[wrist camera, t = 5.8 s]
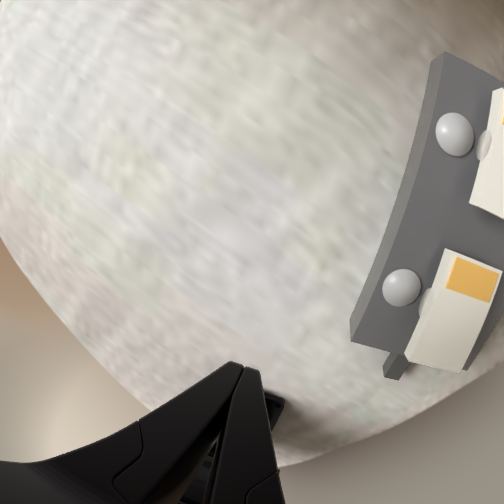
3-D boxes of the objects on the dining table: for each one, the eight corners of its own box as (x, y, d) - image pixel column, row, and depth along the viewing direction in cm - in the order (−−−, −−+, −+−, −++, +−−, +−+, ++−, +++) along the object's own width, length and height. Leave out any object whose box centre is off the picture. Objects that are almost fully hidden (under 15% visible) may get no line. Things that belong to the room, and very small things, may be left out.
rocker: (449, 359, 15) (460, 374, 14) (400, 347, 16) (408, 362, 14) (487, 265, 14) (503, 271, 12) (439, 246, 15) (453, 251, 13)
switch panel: (437, 379, 20) (444, 403, 17) (333, 353, 21) (332, 378, 19) (543, 124, 12) (566, 125, 10) (431, 61, 13) (446, 50, 11)
